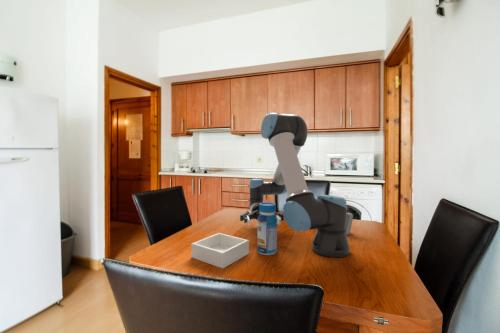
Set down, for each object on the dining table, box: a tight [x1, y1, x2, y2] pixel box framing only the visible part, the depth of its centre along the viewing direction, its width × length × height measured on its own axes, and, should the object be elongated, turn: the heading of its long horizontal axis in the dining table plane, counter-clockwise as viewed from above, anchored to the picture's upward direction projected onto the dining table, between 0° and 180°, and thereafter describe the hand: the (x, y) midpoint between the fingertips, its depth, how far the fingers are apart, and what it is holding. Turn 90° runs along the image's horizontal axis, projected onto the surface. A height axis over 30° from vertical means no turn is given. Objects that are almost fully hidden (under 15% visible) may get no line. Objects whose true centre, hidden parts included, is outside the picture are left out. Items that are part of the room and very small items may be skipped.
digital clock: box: [346, 212, 354, 236], centre depth 130 cm, size 16×9×11 cm, turn 30°
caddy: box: [190, 232, 250, 269], centre depth 98 cm, size 16×16×6 cm
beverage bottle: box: [256, 201, 279, 256], centre depth 102 cm, size 8×8×20 cm
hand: (264, 222), depth 107 cm, fingers open, 13 cm apart
